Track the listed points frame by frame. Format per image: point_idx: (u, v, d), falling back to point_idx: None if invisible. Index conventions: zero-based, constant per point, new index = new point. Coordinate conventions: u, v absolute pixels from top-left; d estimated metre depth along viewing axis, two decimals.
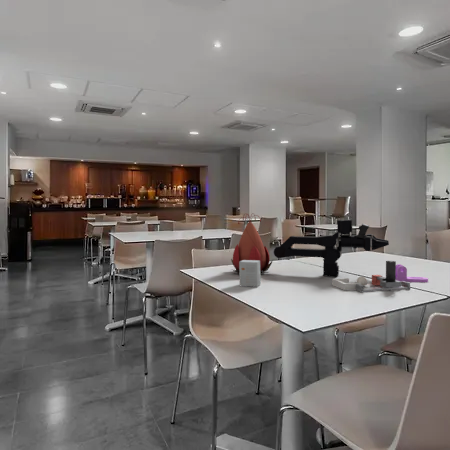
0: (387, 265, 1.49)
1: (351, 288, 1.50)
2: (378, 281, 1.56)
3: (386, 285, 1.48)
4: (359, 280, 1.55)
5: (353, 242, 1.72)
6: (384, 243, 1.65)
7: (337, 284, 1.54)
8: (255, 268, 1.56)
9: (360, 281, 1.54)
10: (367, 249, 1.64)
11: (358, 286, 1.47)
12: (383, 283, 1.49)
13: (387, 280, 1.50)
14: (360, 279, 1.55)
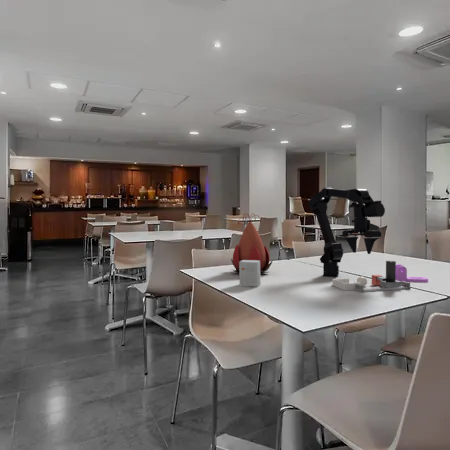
0: (387, 265, 1.49)
1: (351, 288, 1.50)
2: (378, 281, 1.56)
3: (386, 285, 1.48)
4: (359, 280, 1.55)
5: (364, 219, 1.61)
6: (370, 249, 1.59)
7: (337, 284, 1.54)
8: (255, 268, 1.56)
9: (360, 281, 1.54)
10: (371, 234, 1.54)
11: (358, 286, 1.47)
12: (383, 283, 1.49)
13: (387, 280, 1.50)
14: (360, 279, 1.55)
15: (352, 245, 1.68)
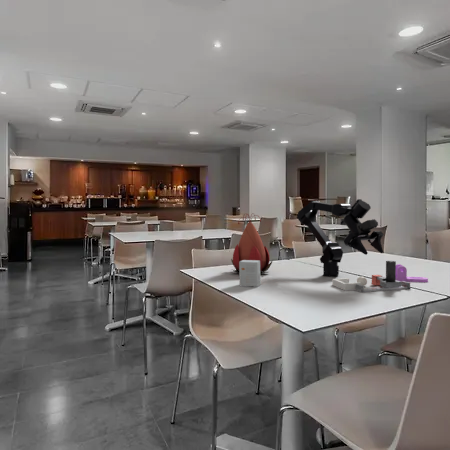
0: (387, 265, 1.49)
1: (351, 288, 1.50)
2: (378, 281, 1.56)
3: (386, 285, 1.48)
4: (359, 280, 1.55)
5: (350, 227, 1.64)
6: (363, 250, 1.55)
7: (337, 284, 1.54)
8: (255, 268, 1.56)
9: (360, 281, 1.54)
10: (344, 242, 1.59)
11: (358, 286, 1.47)
12: (383, 283, 1.49)
13: (387, 280, 1.50)
14: (360, 279, 1.55)
15: (376, 248, 1.62)
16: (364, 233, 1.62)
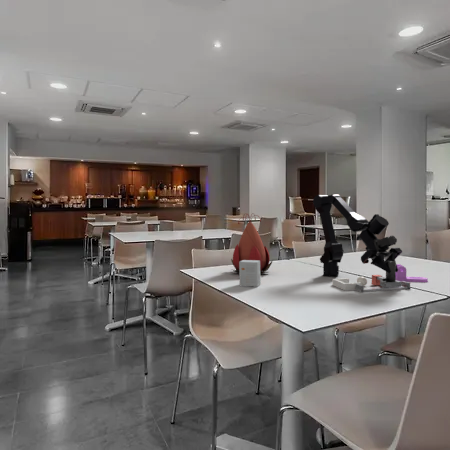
0: None
1: (351, 288, 1.50)
2: (378, 281, 1.56)
3: (386, 285, 1.48)
4: (359, 280, 1.55)
5: (367, 244, 1.56)
6: (386, 268, 1.49)
7: (337, 284, 1.54)
8: (255, 268, 1.56)
9: (360, 281, 1.54)
10: (361, 260, 1.51)
11: (358, 286, 1.47)
12: (383, 283, 1.49)
13: (387, 280, 1.50)
14: (360, 279, 1.55)
15: None
16: (382, 250, 1.54)
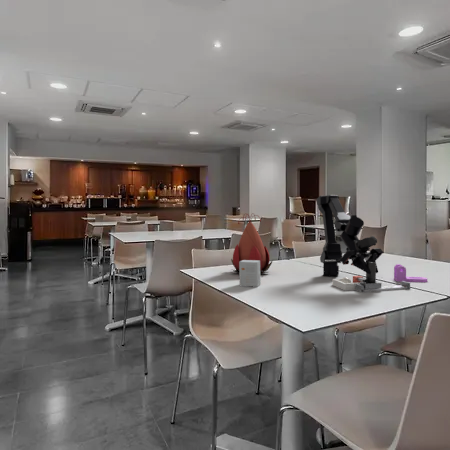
0: None
1: (351, 288, 1.50)
2: (359, 282, 1.54)
3: (366, 286, 1.46)
4: (350, 282, 1.54)
5: (348, 244, 1.55)
6: (366, 269, 1.47)
7: (337, 284, 1.54)
8: (255, 268, 1.56)
9: (350, 281, 1.54)
10: (341, 261, 1.49)
11: (358, 286, 1.47)
12: (363, 284, 1.47)
13: (367, 281, 1.48)
14: None
15: None
16: (362, 251, 1.52)
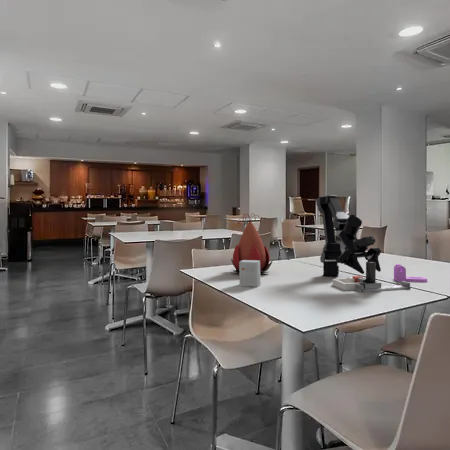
0: (367, 266, 1.47)
1: (351, 288, 1.50)
2: (359, 282, 1.54)
3: (366, 286, 1.46)
4: None
5: (346, 244, 1.55)
6: (359, 269, 1.46)
7: (337, 284, 1.54)
8: (255, 268, 1.56)
9: None
10: (340, 260, 1.50)
11: (358, 286, 1.47)
12: (363, 284, 1.47)
13: (367, 281, 1.48)
14: None
15: None
16: (361, 250, 1.53)
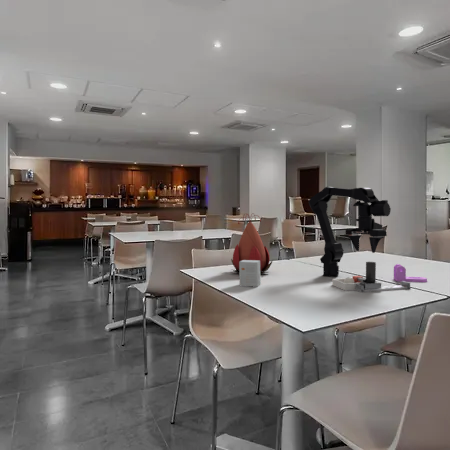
0: (367, 266, 1.47)
1: (351, 288, 1.50)
2: (359, 282, 1.54)
3: (366, 286, 1.46)
4: None
5: (369, 218, 1.62)
6: (374, 248, 1.60)
7: (337, 284, 1.54)
8: (255, 268, 1.56)
9: None
10: (377, 233, 1.55)
11: (358, 286, 1.47)
12: (363, 284, 1.47)
13: (367, 281, 1.48)
14: None
15: (355, 243, 1.69)
16: None
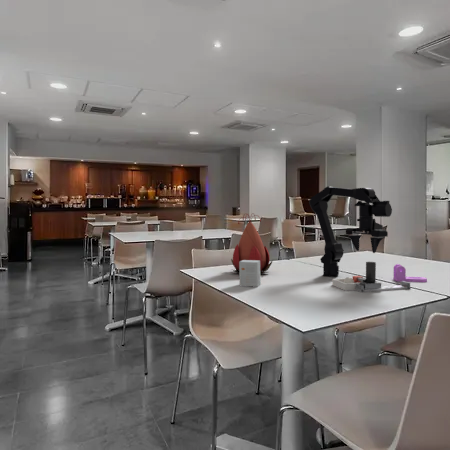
0: (367, 266, 1.47)
1: (351, 288, 1.50)
2: (359, 282, 1.54)
3: (366, 286, 1.46)
4: None
5: (370, 218, 1.62)
6: (375, 249, 1.61)
7: (337, 284, 1.54)
8: (255, 268, 1.56)
9: None
10: (379, 234, 1.56)
11: (358, 286, 1.47)
12: (363, 284, 1.47)
13: (367, 281, 1.48)
14: None
15: (356, 243, 1.69)
16: None
